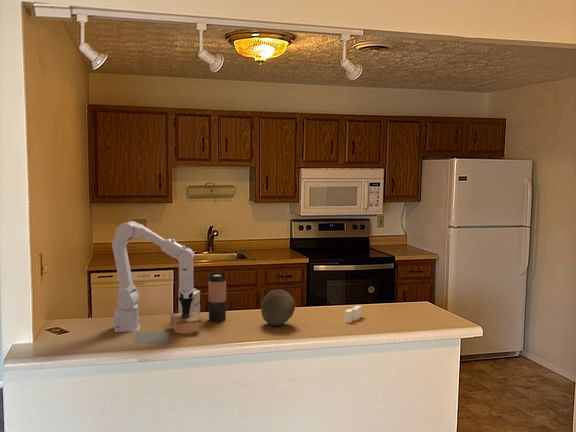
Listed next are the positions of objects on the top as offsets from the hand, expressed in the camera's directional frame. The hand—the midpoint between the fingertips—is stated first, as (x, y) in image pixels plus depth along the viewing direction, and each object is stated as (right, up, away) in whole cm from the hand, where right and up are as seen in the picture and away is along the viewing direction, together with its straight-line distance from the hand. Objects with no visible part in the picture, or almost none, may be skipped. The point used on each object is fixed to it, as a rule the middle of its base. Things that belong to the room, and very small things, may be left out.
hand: (186, 311), depth 218 cm
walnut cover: (0, -3, 0) cm, 3 cm away
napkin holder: (+69, -8, +20) cm, 72 cm away
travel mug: (+10, -7, +17) cm, 21 cm away
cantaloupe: (+37, -8, +10) cm, 39 cm away
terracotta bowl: (0, -8, +1) cm, 8 cm away
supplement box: (-2, -7, +16) cm, 17 cm away
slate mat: (-12, -9, -9) cm, 17 cm away
